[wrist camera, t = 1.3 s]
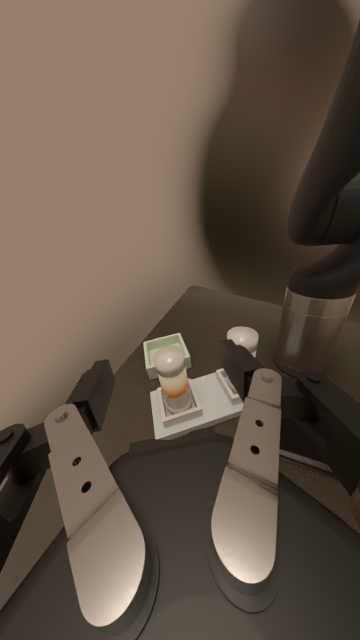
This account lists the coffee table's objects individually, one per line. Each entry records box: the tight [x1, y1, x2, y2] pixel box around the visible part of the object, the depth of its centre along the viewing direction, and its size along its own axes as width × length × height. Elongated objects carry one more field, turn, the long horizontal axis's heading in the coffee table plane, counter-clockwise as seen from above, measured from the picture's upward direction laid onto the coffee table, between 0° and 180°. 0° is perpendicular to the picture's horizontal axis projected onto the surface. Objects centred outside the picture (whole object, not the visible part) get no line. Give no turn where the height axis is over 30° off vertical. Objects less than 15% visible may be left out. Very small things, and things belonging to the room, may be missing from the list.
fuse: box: [227, 327, 258, 394], centre depth 30 cm, size 5×5×12 cm
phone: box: [279, 418, 338, 480], centre depth 25 cm, size 8×1×15 cm
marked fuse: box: [153, 346, 192, 415], centre depth 28 cm, size 5×5×12 cm
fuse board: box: [150, 369, 244, 440], centre depth 32 cm, size 22×9×4 cm, turn 104°
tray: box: [143, 333, 192, 380], centre depth 43 cm, size 10×10×4 cm
